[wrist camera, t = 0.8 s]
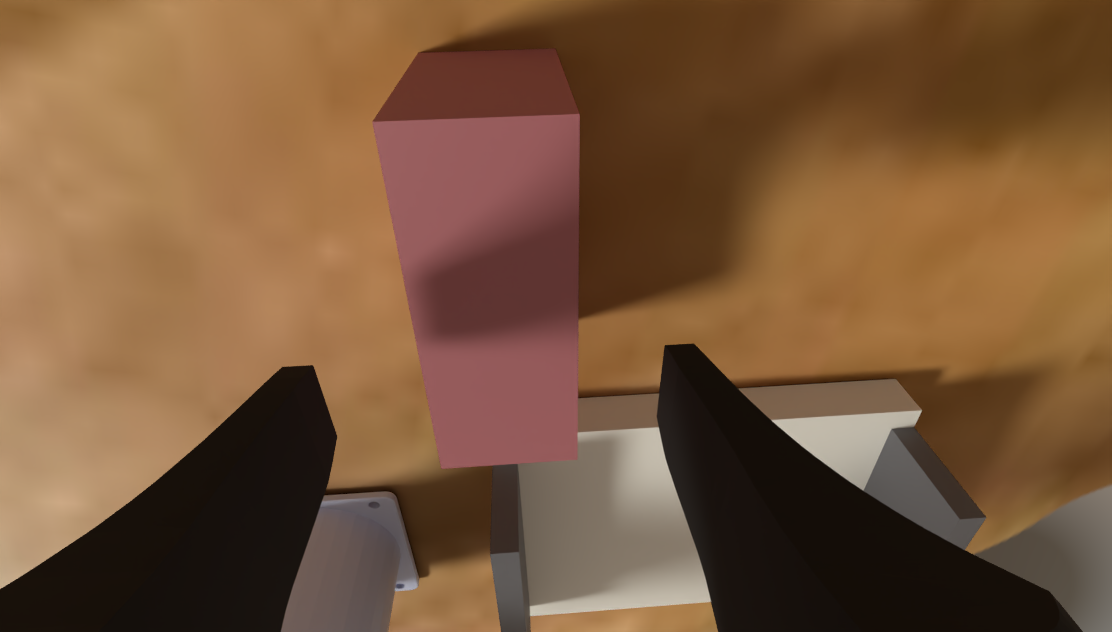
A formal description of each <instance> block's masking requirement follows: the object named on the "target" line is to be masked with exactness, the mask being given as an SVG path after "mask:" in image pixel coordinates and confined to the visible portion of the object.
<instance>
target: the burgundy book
mask: <svg viewBox="0 0 1112 632" xmlns="http://www.w3.org/2000/svg"><path fill="white" fill-rule="evenodd" d="M373 127H374V133H375V138H376V143H377V148H378V153H379V158H380V163H381V168H382V173H383V178H384V183H385V188H386V193H387V198H388V203H389V208H390V213H391V218H392V223H393V228H394V233H395V238H396V243H397V248H398V253H399V258H400V263H401V268H402V273H403V278H404V283H405V288H406V294H407V299H408V304H409V309H410V314H411V319H412V324H413V329H414V334H415V339H416V344H417V349H418V354H419V359H420V364H421V369H422V374H423V379H424V384H425V389H426V394H427V399H428V404H429V409H430V414H431V419H432V424H433V429H434V434H435V439H436V444H437V449H438V454H439V460H440V465H441V469H446V468H461V467H476V466H491V465H506V464H521V463H536V462H551V461H566V460H577V458H578V301H579V145H580V114H579V111H578V108H577V105H576V103H575V100H574V97H573V95H572V92H571V89H570V87H569V84H568V81H567V79H566V76H565V73H564V71H563V68H562V65H561V63H560V60H559V57H558V54H557V52H556V49H555V48H553V49H522V50H490V51H459V52H428V53H418V54H417V56H416V57H415V59H414V60H413V62H412V63H411V65H410V66H409V68H408V69H407V71H406V72H405V74H404V75H403V77H402V78H401V80H400V81H399V83H398V84H397V86H396V87H395V89H394V90H393V92H392V93H391V95H390V96H389V98H388V99H387V101H386V102H385V104H384V105H383V107H382V108H381V110H380V111H379V113H378V114H377V116H376V117H375V119H374V120H373Z"/></svg>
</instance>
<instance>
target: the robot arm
mask: <svg viewBox="0 0 1112 632" xmlns="http://www.w3.org/2000/svg"><path fill="white" fill-rule="evenodd" d="M657 421H658V426H659V431H660V436H661V441H662V445H663V450H664V455H665V459H666V462H667V465H668V468H669V471H670V474H671V477H672V480H673V483H674V486H675V489H676V492H677V495H678V498H679V500H680V503H681V506H682V509H683V512H684V515H685V518H686V521H687V523H688V526H689V529H690V532H691V535H692V538H693V541H694V544H695V547H696V549H697V552H698V555H699V558H700V562H701V565H702V568H703V572H704V575H705V579H706V583H707V587H708V591H709V595H710V599H711V604H712V608H713V612H714V616H715V620H716V624H717V629H718V632H1083V631H1082V630H1081V629H1080V628H1079V626H1078V625H1077V624H1076V623H1075V621H1074V620H1073V619H1072V618H1071V617H1070V615H1069V614H1068V613H1067V612H1066V610H1065V609H1064V608H1063V607H1062V606H1061V604H1060V603H1059V602H1058V601H1057V600H1056V599H1055V597H1054V596H1053V595H1052V594H1051V593H1050V592H1049V591H1048V590H1045V589H1043V588H1041V587H1039V586H1037V585H1035V584H1033V583H1031V582H1029V581H1026V580H1025V579H1023V578H1020V577H1018V576H1016V575H1014V574H1012V573H1010V572H1008V571H1006V570H1004V569H1002V568H1000V567H998V566H996V565H994V564H992V563H989V562H987V561H985V560H983V559H981V558H979V557H977V556H975V555H973V554H971V553H969V552H967V551H965V550H963V549H962V548H960V547H958V546H956V545H954V544H952V543H951V542H949V541H947V540H945V539H943V538H941V537H940V536H938V535H936V534H934V533H932V532H930V531H929V530H927V529H925V528H923V527H922V526H920V525H918V524H916V523H915V522H913V521H911V520H910V519H908V518H906V517H904V516H903V515H901V514H899V513H898V512H896V511H895V510H893V509H891V508H890V507H888V506H887V505H885V504H883V503H882V502H880V501H879V500H877V499H876V498H874V497H872V496H871V495H869V494H868V493H866V492H865V491H863V490H862V489H860V488H859V487H857V486H856V485H854V484H853V483H851V482H850V481H848V480H847V479H845V478H844V477H842V476H841V475H840V474H838V473H837V472H836V471H834V470H833V469H832V468H830V467H829V466H827V465H826V464H825V463H823V462H822V461H821V460H819V459H818V458H816V457H815V456H814V455H813V454H811V453H810V452H809V451H807V450H806V449H805V448H804V447H802V446H801V445H800V444H799V443H797V442H796V441H795V440H794V439H793V438H791V437H790V436H789V435H788V434H787V433H786V432H784V431H783V430H782V429H781V428H780V427H778V426H777V425H776V424H775V423H774V422H773V421H772V420H771V419H769V418H768V417H767V416H766V415H765V414H764V413H763V412H762V411H761V410H760V409H759V408H758V407H757V406H756V405H754V404H753V403H752V402H751V401H750V400H749V399H748V398H747V397H746V396H745V395H744V394H743V393H742V392H741V391H740V390H739V389H738V388H737V387H736V386H735V385H734V384H733V383H732V382H731V381H730V380H729V379H728V378H727V377H726V376H725V375H724V374H723V373H722V372H721V371H720V370H719V369H718V368H717V367H716V366H715V365H714V364H713V363H712V362H711V361H710V360H709V359H708V358H707V356H706V355H705V354H704V353H703V352H702V351H701V350H700V349H699V348H698V347H697V346H696V345H695V344H679V345H665V348H664V356H663V365H662V374H661V382H660V391H659V399H658V408H657ZM336 440H337V434H336V431H335V428H334V426H333V423H332V420H331V417H330V414H329V411H328V408H327V405H326V402H325V399H324V396H323V393H322V390H321V387H320V384H319V381H318V378H317V375H316V373H315V370H314V367H313V365H310V366H293V367H282V368H281V369H280V370H279V371H277V372H276V373H275V374H274V375H273V376H272V377H271V378H270V379H269V380H268V381H267V382H265V383H264V384H263V385H262V386H261V387H260V388H259V389H258V390H257V391H256V392H255V393H254V394H253V395H252V396H251V397H250V398H249V399H248V400H246V401H245V402H244V403H243V404H242V405H241V406H240V407H239V408H238V409H237V410H236V411H235V412H234V413H233V414H232V415H231V416H230V417H228V418H227V419H226V420H225V421H224V422H223V423H222V424H221V425H220V426H219V427H218V428H217V429H215V430H214V431H213V432H212V433H211V434H210V435H209V436H208V437H207V438H206V439H205V440H204V441H202V442H201V443H200V444H199V445H198V446H197V447H195V448H194V449H193V450H192V451H191V452H190V453H188V454H187V455H186V456H185V457H184V458H183V459H181V460H180V461H179V462H178V463H177V464H176V465H174V466H173V467H172V468H171V469H170V470H169V471H167V472H166V473H165V474H164V475H163V476H162V477H160V478H159V479H158V480H157V481H156V482H154V483H153V484H152V485H151V486H149V487H148V488H147V489H146V490H144V491H143V492H142V493H141V494H139V495H138V496H137V497H135V498H134V499H133V500H132V501H130V502H129V503H128V504H126V505H125V506H124V507H122V508H121V509H120V510H118V511H117V512H115V513H114V514H113V515H111V516H110V517H109V518H107V519H106V520H105V521H103V522H102V523H101V524H99V525H98V526H96V527H95V528H94V529H92V530H91V531H89V532H88V533H86V534H85V535H83V536H82V537H80V538H79V539H77V540H76V541H74V542H73V543H71V544H70V545H68V546H67V547H65V548H64V549H62V550H61V551H59V552H58V553H56V554H55V555H53V556H52V557H50V558H49V559H47V560H46V561H44V562H43V563H41V564H40V565H38V566H37V567H35V568H34V569H32V570H30V571H29V572H27V573H26V574H24V575H23V576H21V577H19V578H18V579H16V580H15V581H13V582H11V583H10V584H8V585H6V586H5V587H3V588H1V589H0V632H388V629H389V623H390V617H391V611H392V605H393V599H394V593H395V591H404V590H413V589H416V588H417V587H418V585H419V576H418V573H417V569H416V565H415V562H414V558H413V555H412V551H411V547H410V544H409V540H408V537H407V533H406V529H405V526H404V522H403V519H402V515H401V511H400V508H399V504H398V501H397V497H396V496H395V495H394V494H393V493H391V492H387V491H383V492H368V493H353V494H339V495H324V494H325V491H326V488H327V485H328V481H329V476H330V472H331V467H332V462H333V457H334V451H335V446H336Z"/></svg>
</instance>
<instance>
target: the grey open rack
mask: <svg viewBox="0 0 1112 632" xmlns="http://www.w3.org/2000/svg"><path fill="white" fill-rule="evenodd" d="M738 389H739V390H740V391H741V392H742V393H743V394H744V395H745V396H746V397H747V398H748V399H749V400H750V401H751V402H752V403H753V404H754V405H756V406H757V407H758V408H759V409H760V410H761V411H762V412H763V413H764V414H765V415H766V416H767V417H768V418H769V419H771V420H772V421H773V422H774V423H775V424H776V425H777V426H778V427H780V428H781V429H782V430H783V431H784V432H786V433H787V434H788V435H789V436H790V437H791V438H793V439H794V440H795V441H796V442H797V443H799V444H800V445H801V446H802V447H804V448H805V449H806V450H807V451H809V452H810V453H811V454H813V455H814V456H815V457H816V458H818V459H819V460H821V461H822V462H823V463H825V464H826V465H827V466H829V467H830V468H832V469H833V470H834V471H836V472H837V473H838V474H840V475H841V476H842V477H844V478H845V479H847V480H848V481H850V482H851V483H853V484H854V485H856V486H857V487H859V488H860V489H862V490H863V491H865V492H866V493H868V494H869V495H871V496H872V497H874V498H876V499H877V500H879V501H880V502H882V503H883V504H885V505H887V506H888V507H890V508H891V509H893V510H895V511H896V512H898V513H899V514H901V515H903V516H904V517H906V518H908V519H910V520H911V521H913V522H915V523H916V524H918V525H920V526H922V527H923V528H925V529H927V530H929V531H930V532H932V533H934V534H936V535H938V536H940V537H941V538H943V539H945V540H947V541H949V542H951V543H952V544H954V545H956V546H958V547H960V548H962V549H963V550H965V549H966V547H967V546H968V544H969V543H970V541H971V540H972V538H973V537H974V535H975V534H976V532H977V531H978V529H979V528H980V526H981V525H982V523H983V522H984V520H985V519H986V516H985V515H984V514H983V513H982V511H981V510H980V509H979V508H978V506H977V505H976V504H975V503H974V501H973V500H972V499H971V498H970V496H969V495H968V494H967V493H966V491H965V490H964V489H963V488H962V486H961V485H960V484H959V483H958V481H957V480H956V479H955V478H954V476H953V475H952V474H951V473H950V471H949V470H948V469H947V468H946V466H945V465H944V464H943V463H942V461H941V460H940V459H939V458H938V456H937V455H936V454H935V453H934V452H933V450H932V449H931V448H930V447H929V445H928V444H927V443H926V442H925V440H924V439H923V438H922V437H921V435H920V434H919V433H918V432H917V430H916V429H915V428H914V426H915V424H916V422H917V420H918V418H919V416H920V414H921V412H922V409H921V408H920V407H919V406H918V405H917V404H916V402H915V401H914V400H913V399H912V398H911V396H910V395H909V394H908V393H907V392H906V391H905V389H904V388H903V387H902V386H901V385H900V383H899V382H898V381H897V380H896V379H884V380H868V381H851V382H835V383H819V384H802V385H786V386H770V387H754V388H738ZM658 399H659V393H656V394H639V395H623V396H607V397H591V398H578V458H577V460H566V461H551V462H536V463H521V464H506V465H493V468H492V505H491V542H490V557H491V564H492V570H493V577H494V584H495V591H496V598H497V605H498V612H499V619H500V626H501V632H531V630H530V616H538V615H551V614H563V613H576V612H589V611H601V610H614V609H626V608H639V607H652V606H664V605H677V604H690V603H702V602H711V599H710V595H709V591H708V587H707V583H706V579H705V575H704V572H703V568H702V565H701V562H700V558H699V555H698V552H697V549H696V547H695V544H694V541H693V538H692V535H691V532H690V529H689V526H688V523H687V521H686V518H685V515H684V512H683V509H682V506H681V503H680V500H679V498H678V495H677V492H676V489H675V486H674V483H673V480H672V477H671V474H670V471H669V468H668V465H667V462H666V459H665V455H664V450H663V445H662V441H661V436H660V431H659V426H658V421H657V408H658Z"/></svg>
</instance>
